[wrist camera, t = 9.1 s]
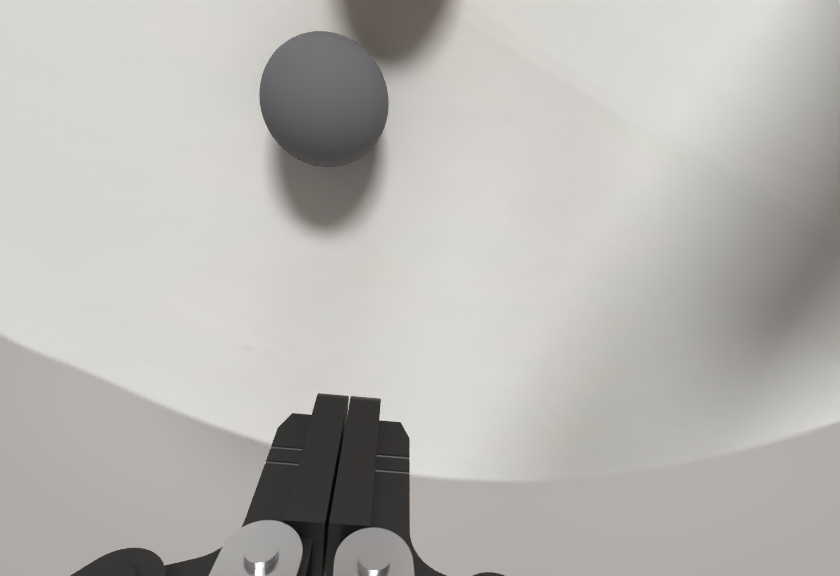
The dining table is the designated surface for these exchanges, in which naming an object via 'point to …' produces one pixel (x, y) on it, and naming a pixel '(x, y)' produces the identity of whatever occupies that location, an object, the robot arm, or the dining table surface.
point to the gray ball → (324, 99)
